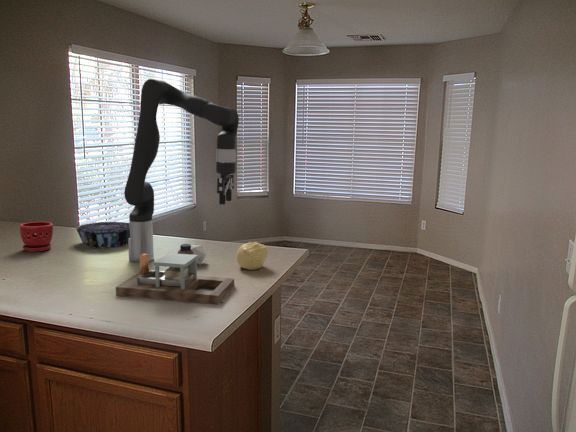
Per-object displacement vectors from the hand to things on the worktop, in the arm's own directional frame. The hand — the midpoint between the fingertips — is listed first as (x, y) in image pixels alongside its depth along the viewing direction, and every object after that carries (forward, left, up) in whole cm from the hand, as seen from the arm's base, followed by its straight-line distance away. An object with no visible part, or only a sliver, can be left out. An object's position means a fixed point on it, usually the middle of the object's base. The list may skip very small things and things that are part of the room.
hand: (225, 202), depth 185 cm
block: (-9, -27, -25) cm, 37 cm away
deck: (-9, -27, -28) cm, 39 cm away
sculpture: (+9, +6, -28) cm, 30 cm away
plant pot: (-92, +10, -28) cm, 97 cm away
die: (-15, +6, -28) cm, 32 cm away
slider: (-14, -27, -24) cm, 39 cm away
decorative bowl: (-69, +28, -28) cm, 80 cm away
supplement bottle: (-14, -7, -28) cm, 32 cm away
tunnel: (-9, -27, -25) cm, 37 cm away
